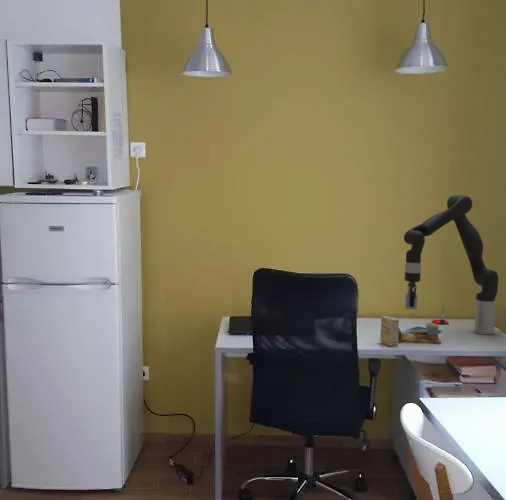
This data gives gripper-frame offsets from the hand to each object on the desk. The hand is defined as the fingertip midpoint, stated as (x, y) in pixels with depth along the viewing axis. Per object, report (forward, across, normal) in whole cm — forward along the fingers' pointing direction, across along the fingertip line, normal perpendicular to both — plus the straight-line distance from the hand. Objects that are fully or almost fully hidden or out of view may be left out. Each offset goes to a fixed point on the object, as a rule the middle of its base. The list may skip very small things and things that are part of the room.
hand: (411, 305), depth 322 cm
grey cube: (+16, 0, -11) cm, 19 cm away
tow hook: (+17, +41, -21) cm, 49 cm away
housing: (+1, 0, 0) cm, 1 cm away
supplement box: (+17, -11, +11) cm, 23 cm away
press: (+17, 0, -4) cm, 18 cm away
